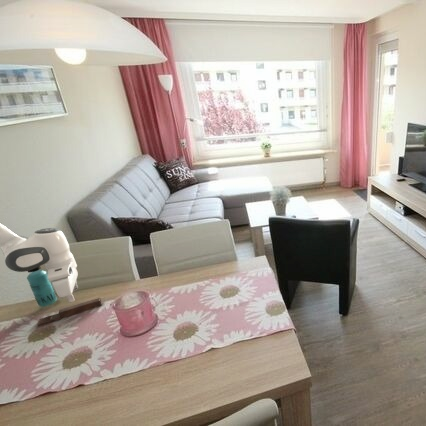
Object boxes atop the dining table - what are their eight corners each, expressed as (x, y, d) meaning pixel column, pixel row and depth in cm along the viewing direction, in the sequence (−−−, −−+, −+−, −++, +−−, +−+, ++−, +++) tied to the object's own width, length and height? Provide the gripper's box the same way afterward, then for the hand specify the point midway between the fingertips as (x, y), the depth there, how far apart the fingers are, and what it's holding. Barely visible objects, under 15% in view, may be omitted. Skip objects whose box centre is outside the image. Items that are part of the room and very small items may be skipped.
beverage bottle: (43, 303, 131) (26, 264, 124) (61, 299, 133) (45, 260, 127) (36, 311, 125) (18, 271, 119) (55, 307, 128) (38, 267, 121)
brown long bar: (37, 326, 116) (35, 320, 115) (40, 320, 119) (37, 315, 118) (101, 306, 126) (99, 301, 125) (102, 301, 130) (100, 296, 129)
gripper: (56, 258, 124) (68, 286, 128) (46, 280, 107) (60, 311, 112) (75, 254, 127) (86, 281, 131) (67, 274, 110) (80, 304, 115)
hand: (74, 295), depth 122 cm, fingers open, 8 cm apart
